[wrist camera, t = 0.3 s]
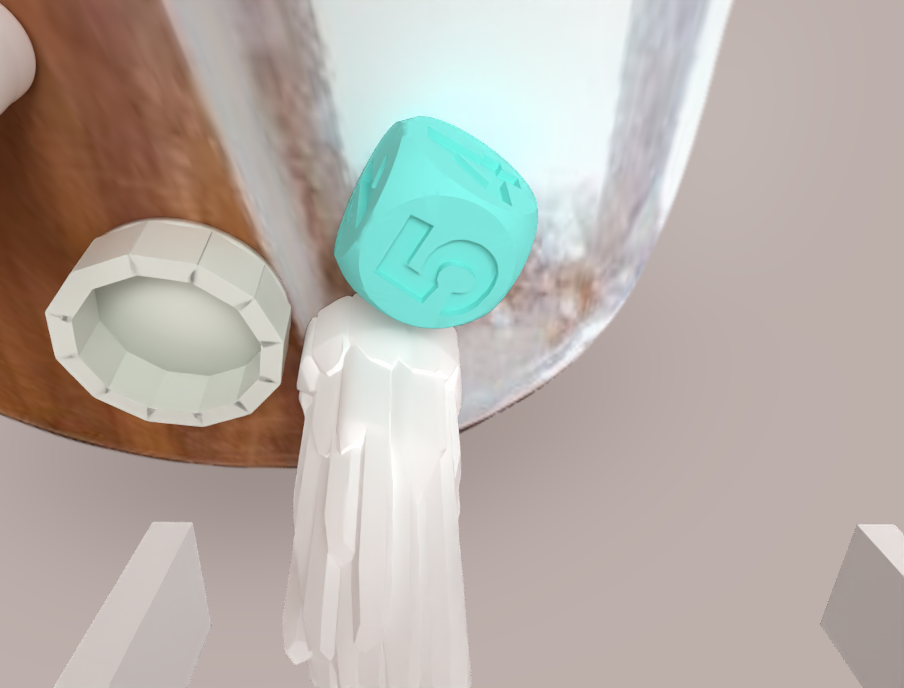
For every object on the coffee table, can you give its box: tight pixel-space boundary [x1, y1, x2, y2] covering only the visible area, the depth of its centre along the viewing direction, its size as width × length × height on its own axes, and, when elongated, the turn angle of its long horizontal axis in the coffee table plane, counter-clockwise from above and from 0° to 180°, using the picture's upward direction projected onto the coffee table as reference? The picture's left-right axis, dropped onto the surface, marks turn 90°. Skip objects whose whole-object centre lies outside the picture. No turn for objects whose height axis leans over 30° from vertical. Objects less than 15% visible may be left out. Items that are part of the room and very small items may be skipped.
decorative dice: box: [334, 116, 538, 329], centre depth 34 cm, size 8×8×8 cm
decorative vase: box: [282, 293, 471, 688], centre depth 35 cm, size 11×11×25 cm
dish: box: [45, 217, 291, 427], centre depth 39 cm, size 13×13×4 cm
